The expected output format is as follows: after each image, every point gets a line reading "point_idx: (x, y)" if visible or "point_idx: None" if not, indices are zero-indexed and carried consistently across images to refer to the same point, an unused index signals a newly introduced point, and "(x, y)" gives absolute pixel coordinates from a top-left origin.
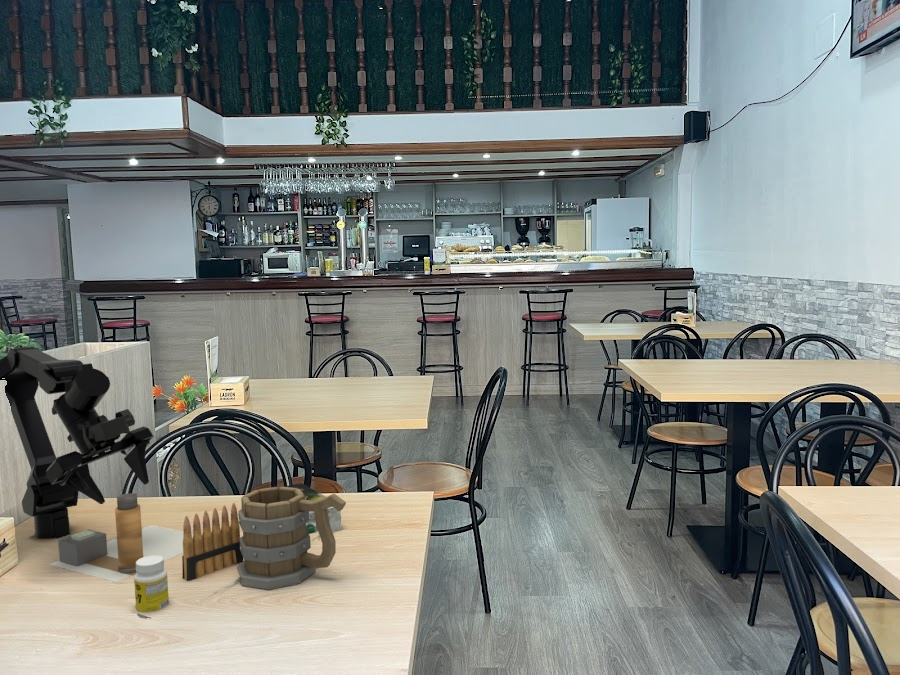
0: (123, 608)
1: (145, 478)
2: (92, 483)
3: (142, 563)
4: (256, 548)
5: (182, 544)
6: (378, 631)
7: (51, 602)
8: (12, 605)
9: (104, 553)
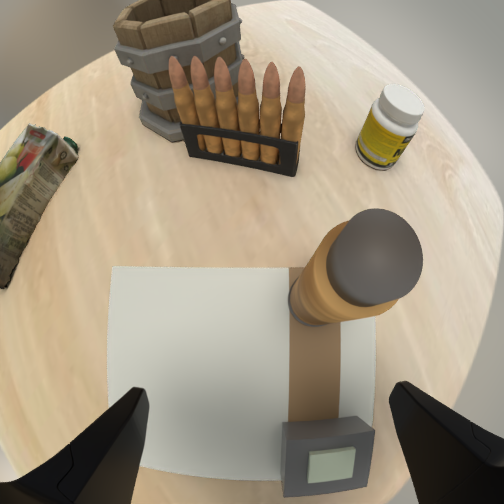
0: (395, 198)
1: (137, 402)
2: (468, 433)
3: (417, 100)
4: (238, 49)
5: (162, 307)
6: (269, 10)
7: (441, 325)
8: (465, 368)
9: (290, 423)
